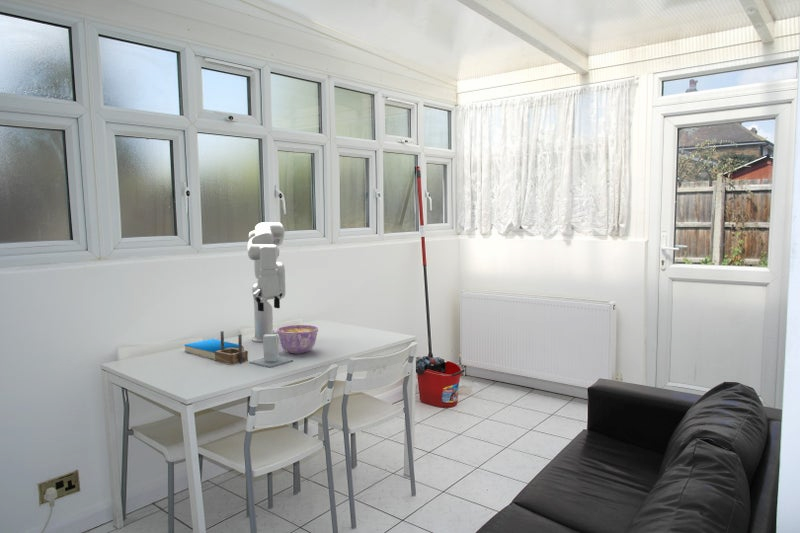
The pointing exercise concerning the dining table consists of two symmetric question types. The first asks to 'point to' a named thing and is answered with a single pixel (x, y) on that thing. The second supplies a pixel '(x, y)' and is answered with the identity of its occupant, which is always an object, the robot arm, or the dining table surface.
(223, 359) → the bottle stand
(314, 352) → the dining table surface
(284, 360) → the mat
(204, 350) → the book
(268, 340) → the skincare box
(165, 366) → the dining table surface
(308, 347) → the bowl of food
